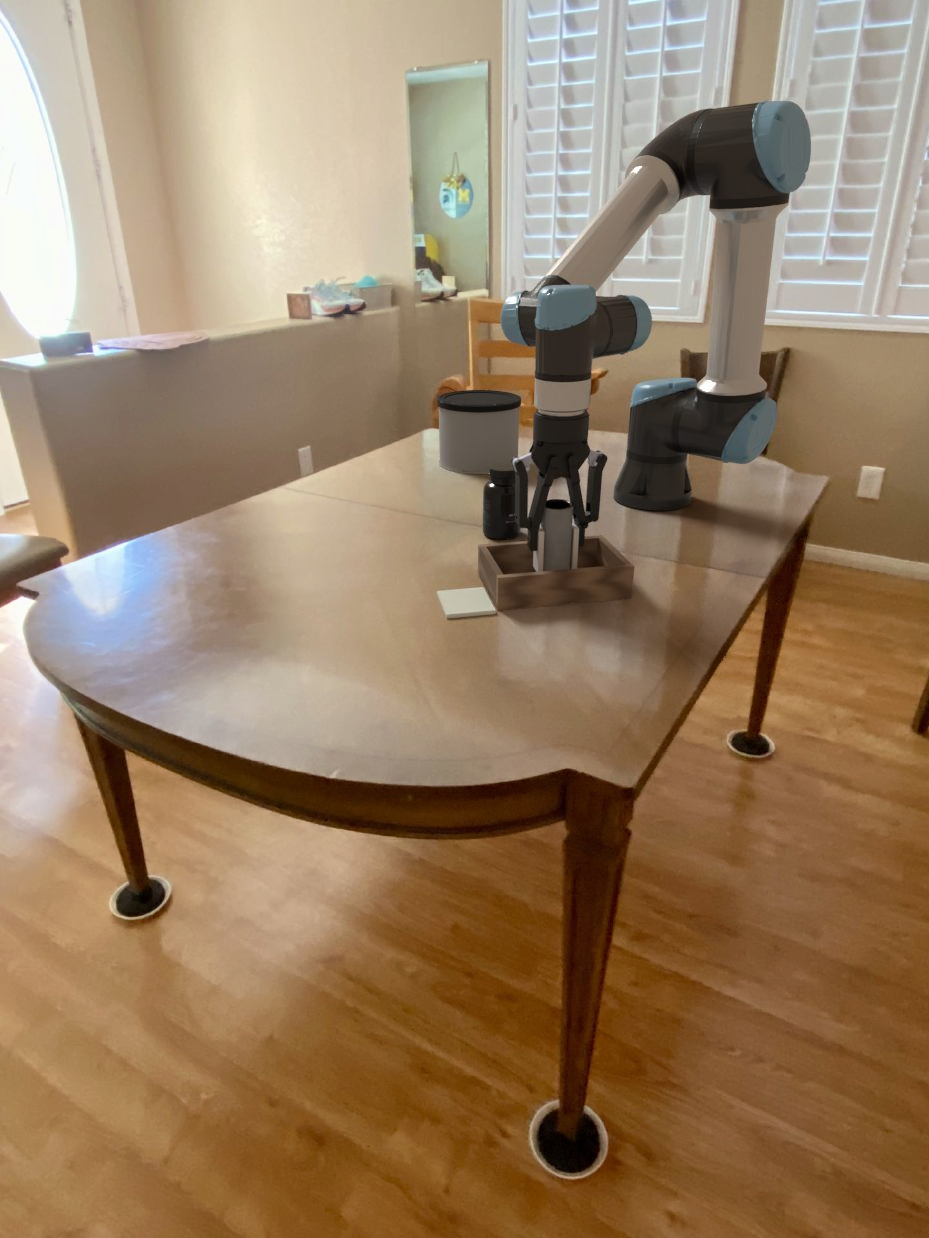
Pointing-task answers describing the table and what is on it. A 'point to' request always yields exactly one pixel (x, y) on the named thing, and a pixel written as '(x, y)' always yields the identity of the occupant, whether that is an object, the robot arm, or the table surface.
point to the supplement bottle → (500, 504)
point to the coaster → (465, 602)
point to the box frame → (553, 575)
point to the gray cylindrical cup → (557, 534)
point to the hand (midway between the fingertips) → (554, 567)
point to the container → (477, 430)
